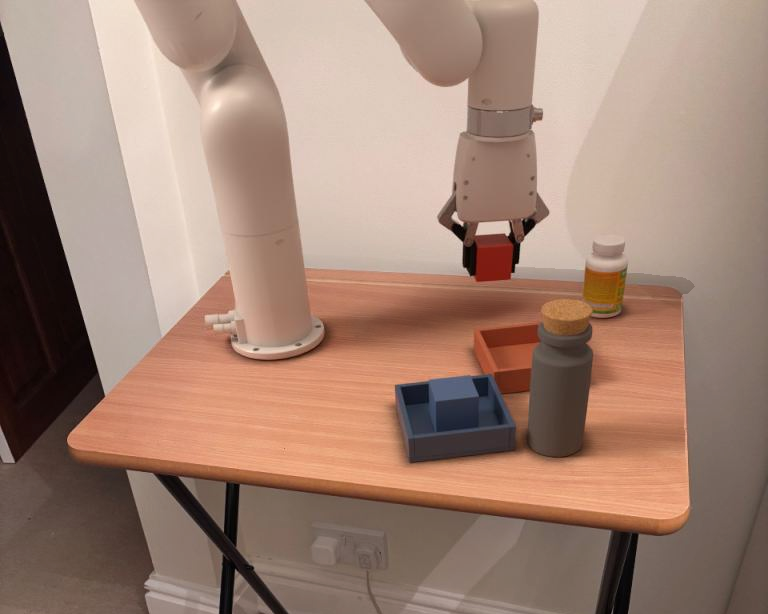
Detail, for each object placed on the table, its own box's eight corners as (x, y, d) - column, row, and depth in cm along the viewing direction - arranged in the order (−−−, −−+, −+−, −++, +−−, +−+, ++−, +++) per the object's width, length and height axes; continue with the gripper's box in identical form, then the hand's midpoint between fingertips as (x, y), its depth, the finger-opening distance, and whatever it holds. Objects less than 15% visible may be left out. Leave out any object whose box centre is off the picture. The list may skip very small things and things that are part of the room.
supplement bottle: (621, 319, 103) (632, 247, 97) (580, 318, 104) (587, 246, 98) (620, 302, 107) (630, 232, 101) (580, 301, 108) (587, 231, 102)
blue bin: (409, 462, 81) (408, 438, 79) (395, 407, 90) (394, 384, 88) (514, 450, 81) (516, 426, 80) (491, 396, 90) (492, 373, 88)
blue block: (436, 438, 83) (435, 401, 80) (429, 415, 87) (428, 379, 84) (478, 433, 83) (479, 396, 81) (470, 411, 87) (470, 374, 84)
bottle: (583, 459, 79) (600, 323, 70) (525, 456, 80) (534, 321, 71) (582, 427, 84) (598, 296, 74) (527, 425, 85) (536, 295, 75)
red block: (476, 282, 102) (478, 247, 99) (469, 269, 105) (470, 235, 103) (510, 279, 102) (513, 245, 99) (502, 266, 106) (505, 233, 103)
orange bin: (493, 394, 90) (493, 371, 88) (473, 350, 99) (474, 328, 97) (587, 384, 91) (590, 361, 89) (559, 341, 100) (561, 319, 98)
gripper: (559, 110, 96) (544, 256, 107) (423, 118, 94) (423, 265, 106) (577, 124, 90) (560, 277, 101) (433, 133, 89) (431, 286, 100)
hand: (490, 269), depth 103 cm, fingers closed on red block, 4 cm apart
